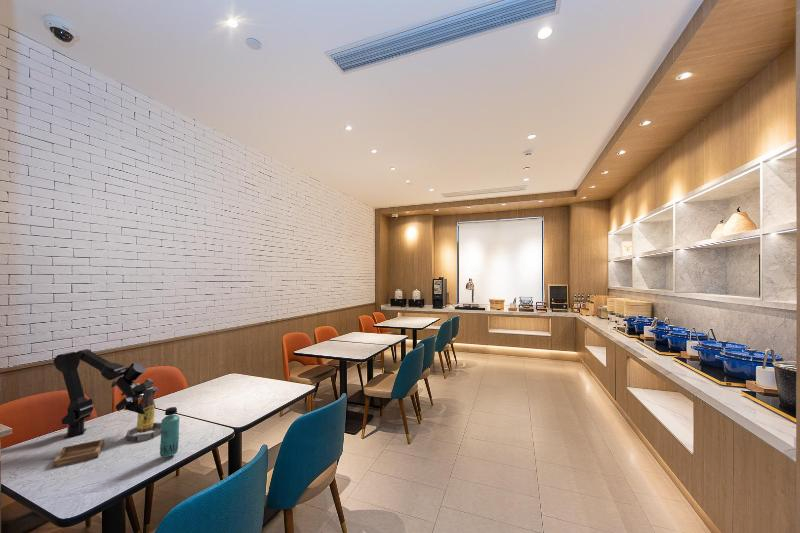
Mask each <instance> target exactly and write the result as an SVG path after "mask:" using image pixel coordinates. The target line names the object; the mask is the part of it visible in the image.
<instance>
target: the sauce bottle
mask: <svg viewBox="0 0 800 533" xmlns="http://www.w3.org/2000/svg"><path fill="white" fill-rule="evenodd" d="M153 399H154V395H153V386H152V387H148V388H147V389H144V390H143V398H141V399H140V401H139V402H138V404H139V405H140V406H141V408H142V409H143V410H144V412H145V413H144V414H140V413H137V420H136V421H137V422H136V427H137V433H140V434H142V433H146V432H147V433H148V432H149V431H152V430H153V429H154V428H153V423H155V420H154V419H155V409H156V408H155V406H156V404H155V403H156V402H155V400H153ZM152 428H153V429H152Z"/></svg>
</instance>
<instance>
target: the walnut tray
mask: <svg viewBox="0 0 800 533" xmlns="http://www.w3.org/2000/svg"><path fill="white" fill-rule="evenodd" d="M104 446H105V438H102V439H98V440H93V441H88V442H84V443H78V444H74V445H69V446H64V447H63V448H62V449H61V450H60V452H59V453H58V454H57V455H56V457H55V458H54V460H53V461H52V469H56V468H60V467H63V466H64V465H65V466H70V465H73V464H77V463H82V462H86V461H90V459H91V460H94V459H99V456H100V454H101V452H102V450H103V448H104ZM59 466H60V467H59Z"/></svg>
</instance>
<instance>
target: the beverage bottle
mask: <svg viewBox="0 0 800 533" xmlns="http://www.w3.org/2000/svg"><path fill="white" fill-rule="evenodd" d="M177 413H178V407H176V406H171V407H170V406H169V407H168V408H166V409H165V412H164V415H165V417H163V418H162V419H161V423H162V426H161V435H160V441H159V442H160V443H159V455H160V457H163V458H166V457H170V456H174V455H176V454H177V453H178V451H179V444H180V443H179V442H180V418H181V417H180V416H179V415H177Z"/></svg>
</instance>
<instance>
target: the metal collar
mask: <svg viewBox="0 0 800 533" xmlns="http://www.w3.org/2000/svg"><path fill="white" fill-rule="evenodd" d="M161 426H162V422H156V421H154V423H153V429H154V428H158V429H155V430H154V431H152V432H150V433H148V432H147V433H144V434H140V435H136V434H137V433H138V432H137V426H135V427H132V428H131V429H128V430H127V432H126V434H125V442H128V443H129V442H130V443H140V442H144V441H148V440H152V439H154V438H157V437H159V436H161V435H160V434H161ZM151 438H152V439H151Z"/></svg>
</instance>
